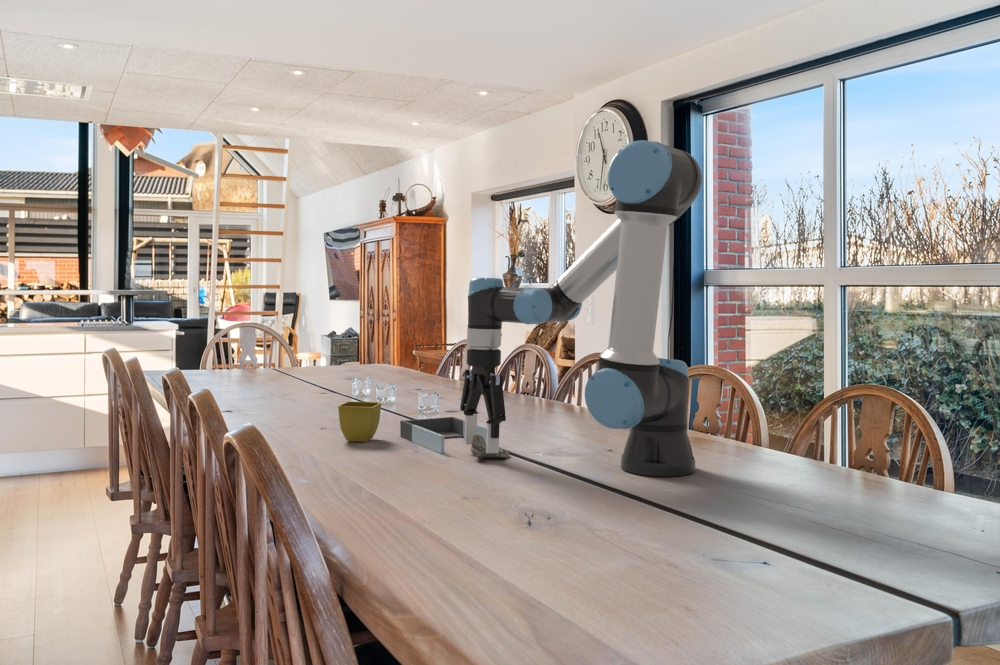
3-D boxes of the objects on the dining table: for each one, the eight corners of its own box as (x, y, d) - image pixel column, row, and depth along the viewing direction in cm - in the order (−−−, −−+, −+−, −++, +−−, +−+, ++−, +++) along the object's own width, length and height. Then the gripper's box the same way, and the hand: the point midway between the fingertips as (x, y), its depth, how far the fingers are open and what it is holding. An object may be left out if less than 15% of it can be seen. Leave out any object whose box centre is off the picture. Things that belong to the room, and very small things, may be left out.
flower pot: (382, 437, 205) (382, 401, 204) (373, 444, 196) (373, 406, 196) (347, 436, 206) (347, 401, 205) (337, 443, 197) (337, 406, 197)
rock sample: (514, 445, 176) (487, 416, 179) (487, 469, 175) (461, 440, 178) (519, 457, 186) (493, 429, 189) (493, 480, 184) (468, 451, 187)
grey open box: (465, 436, 207) (465, 420, 207) (411, 441, 200) (411, 425, 200) (453, 432, 214) (453, 416, 213) (400, 436, 207) (400, 420, 206)
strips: (497, 448, 192) (498, 431, 192) (440, 453, 185) (441, 436, 185) (465, 436, 207) (465, 420, 207) (411, 441, 200) (411, 425, 200)
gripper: (524, 351, 173) (521, 456, 174) (476, 344, 192) (473, 438, 194) (493, 352, 169) (489, 459, 170) (446, 344, 189) (444, 440, 190)
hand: (481, 448), depth 182 cm, fingers open, 10 cm apart
